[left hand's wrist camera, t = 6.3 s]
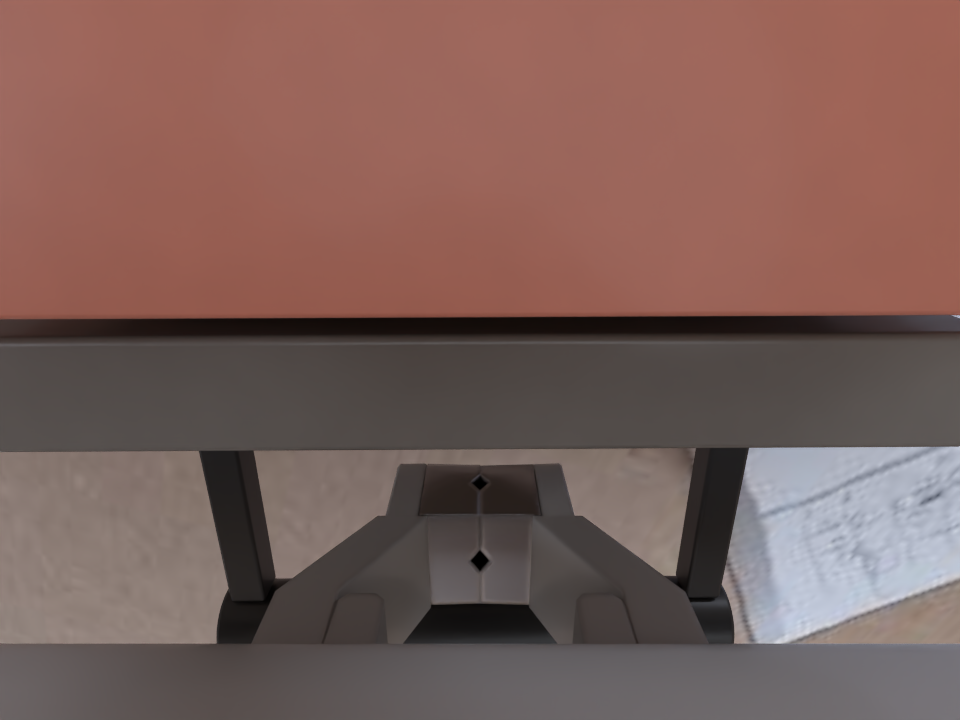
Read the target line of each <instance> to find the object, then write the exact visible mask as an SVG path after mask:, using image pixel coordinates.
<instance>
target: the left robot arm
mask: <svg viewBox="0 0 960 720" xmlns="http://www.w3.org/2000/svg"><path fill="white" fill-rule="evenodd" d="M477 603H481V604H517V605H529V608H530V609H531V610H532V611H533V613H534V614H535V615H536V617H537V618H538V619H539V620H540V622H541V623H542V624H543V626H544V627H545V628H546V629H547V631H548V632H549V633H550V635H551V636H552V637H553V638H554V640H555V641H556V642H557V644H403V643H404V641H405V640H406V639H407V638H408V636H409V635H410V634H411V632H412V631H413V630H414V629H415V627H416V626H417V625H418V624H419V622H420V621H421V620H422V618H423V617H424V616H425V615H426V613H427V612H428V611H429V609H430V608H431V605H442V604H477ZM0 720H960V644H709V643H708V641H707V639H706V636H705V634H704V632H703V630H702V628H701V625H700V623H699V621H698V619H697V617H696V614H695V612H694V610H693V608H692V606H691V603H690V601H689V599H688V597H687V595H686V592H685V591H684V590H682V589H681V588H679V587H678V586H677V585H675V584H674V583H673V582H671V581H670V580H669V579H667V578H666V577H665V576H663V575H662V574H660V573H659V572H658V571H656V570H655V569H654V568H652V567H651V566H650V565H648V564H647V563H646V562H644V561H643V560H641V559H640V558H639V557H637V556H636V555H635V554H633V553H632V552H631V551H629V550H628V549H626V548H625V547H624V546H622V545H621V544H620V543H618V542H617V541H616V540H614V539H613V538H612V537H610V536H609V535H607V534H606V533H605V532H603V531H602V530H601V529H599V528H598V527H597V526H595V525H594V524H593V523H591V522H590V521H588V520H587V519H586V518H584V517H583V516H574V512H573V508H572V504H571V501H570V497H569V493H568V489H567V485H566V481H565V477H564V473H563V470H562V466H561V465H560V464H559V463H555V464H528V465H488V466H480V465H457V464H428V465H426V464H400V466H399V467H398V469H397V473H396V477H395V481H394V485H393V489H392V493H391V496H390V500H389V504H388V508H387V512H386V516H377V517H376V518H374V519H373V520H372V521H370V522H369V523H367V524H366V525H365V526H363V527H362V528H361V529H359V530H358V531H357V532H355V533H354V534H352V535H351V536H350V537H348V538H347V539H346V540H344V541H343V542H342V543H340V544H339V545H337V546H336V547H335V548H333V549H332V550H331V551H329V552H328V553H327V554H325V555H324V556H322V557H321V558H320V559H318V560H317V561H316V562H314V563H313V564H312V565H310V566H309V567H307V568H306V569H305V570H303V571H302V572H301V573H299V574H298V575H296V576H295V577H294V578H292V579H291V580H290V581H288V582H287V583H286V584H284V585H283V586H281V587H280V588H279V589H277V590H276V591H275V593H274V595H273V597H272V599H271V602H270V604H269V606H268V608H267V610H266V613H265V615H264V617H263V619H262V621H261V623H260V626H259V628H258V630H257V632H256V634H255V636H254V639H253V641H252V643H251V644H0Z"/></svg>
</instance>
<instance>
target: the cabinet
mask: <svg viewBox="0 0 960 720" xmlns="http://www.w3.org/2000/svg"><path fill="white" fill-rule="evenodd" d="M865 315H960V0H0V319H212V318H430V317H647V316H865Z"/></svg>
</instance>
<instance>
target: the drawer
mask: <svg viewBox="0 0 960 720" xmlns="http://www.w3.org/2000/svg"><path fill="white" fill-rule="evenodd" d="M949 446H960V318H957V317H954V316H951V315H865V316H647V317H430V318H212V319H0V452H70V451H199V453H200V458H201V462H202V467H203V471H204V476H205V481H206V485H207V490H208V494H209V499H210V504H211V508H212V513H213V518H214V522H215V527H216V531H217V536H218V541H219V545H220V550H221V554H222V559H223V564H224V568H225V573H226V578H227V582H228V587H229V589H228V591H227V593H226V595H225V597H224V600H223V603H222V606H221V609H220V613H219V618H218V625H217V644H251V643H252V641H253V639H254V636H255V634H256V632H257V630H258V628H259V626H260V623H261V621H262V619H263V617H264V615H265V613H266V610H267V608H268V606H269V604H270V602H271V599H272V597H273V595H274V593H275V591H276V590H277V589H279V588H280V587H281V586H283V585H284V584H286V583H287V582H288V581H290V580H291V579H275V570H274V565H273V559H272V553H271V548H270V542H269V536H268V531H267V525H266V519H265V513H264V508H263V502H262V496H261V491H260V485H259V479H258V473H257V468H256V462H255V456H254V451H253V450H421V449H597V448H696V452H695V458H694V464H693V470H692V477H691V483H690V489H689V495H688V502H687V508H686V514H685V520H684V527H683V533H682V539H681V545H680V552H679V558H678V564H677V570H676V576H665V577H666V578H667V579H669V580H670V581H671V582H673V583H674V584H675V585H677V586H678V587H679V588H681V589H682V590H684V591H685V592H686V595H687V597H688V599H689V601H690V603H691V606H692V608H693V610H694V612H695V614H696V617H697V619H698V621H699V623H700V625H701V628H702V630H703V632H704V634H705V636H706V639H707V641H708V643H709V644H734V622H733V616H732V611H731V606H730V603H729V600H728V597H727V594H726V592H725V590H724V588H723V586H722V580H723V575H724V570H725V565H726V560H727V555H728V550H729V545H730V540H731V535H732V530H733V525H734V520H735V515H736V510H737V505H738V500H739V495H740V490H741V485H742V480H743V475H744V470H745V465H746V460H747V455H748V450H749V448H773V447H949ZM403 644H557V642H556V641H555V640H554V638H553V637H552V636H551V635H550V633H549V632H548V631H547V629H546V628H545V627H544V626H543V624H542V623H541V622H540V620H539V619H538V618H537V617H536V615H535V614H534V613H533V611H532V610H531V609H530V608H529V605H517V604H481V603H477V604H442V605H431V608H430V609H429V611H428V612H427V613H426V615H425V616H424V617H423V618H422V620H421V621H420V622H419V624H418V625H417V626H416V627H415V629H414V630H413V631H412V632H411V634H410V635H409V636H408V638H407V639H406V640H405V641H404V643H403Z"/></svg>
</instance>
